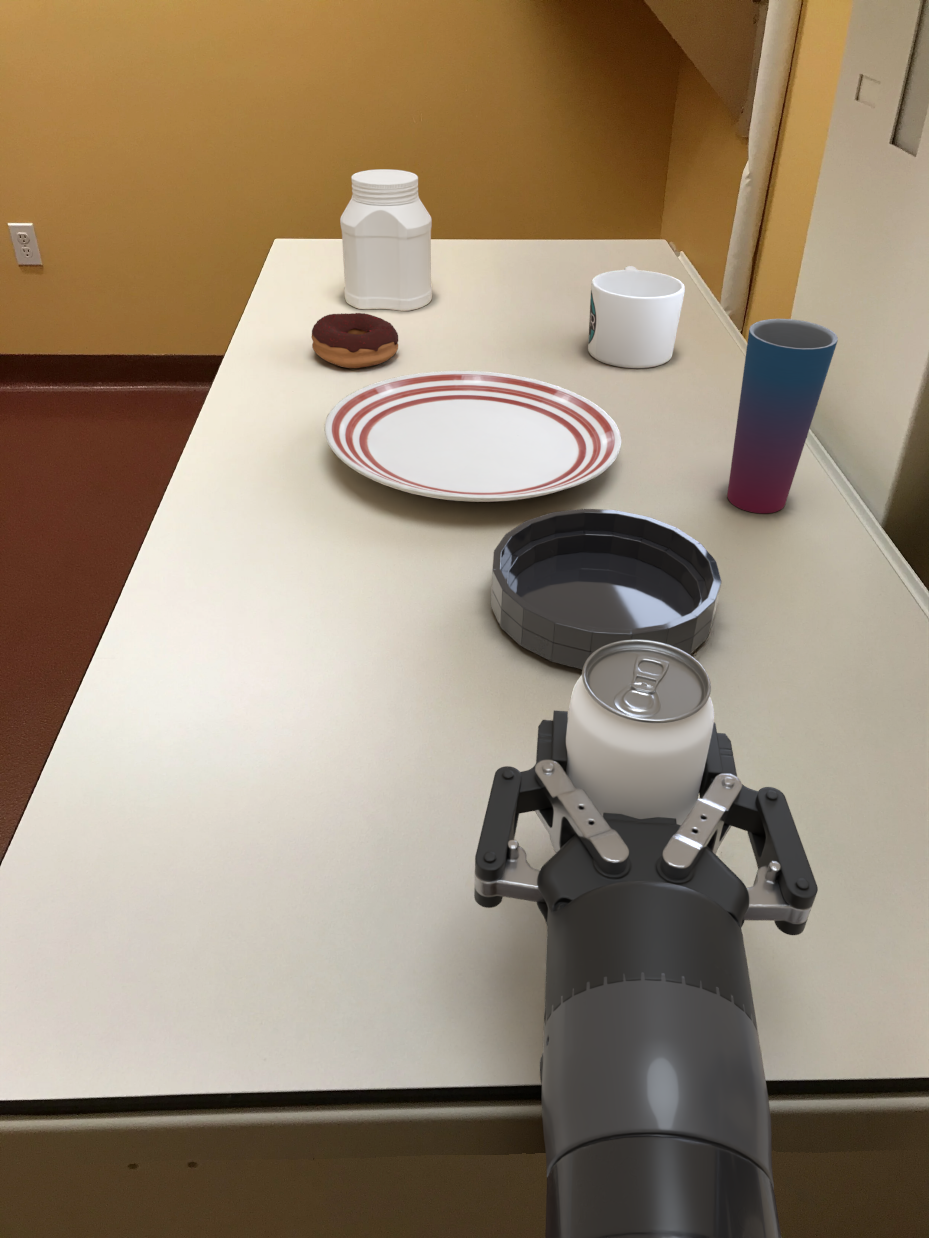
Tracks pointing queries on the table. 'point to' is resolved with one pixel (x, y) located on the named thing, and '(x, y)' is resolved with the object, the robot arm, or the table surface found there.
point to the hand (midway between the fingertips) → (630, 729)
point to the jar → (386, 242)
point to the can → (640, 729)
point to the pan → (602, 584)
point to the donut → (354, 339)
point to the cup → (776, 409)
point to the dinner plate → (472, 435)
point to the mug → (634, 317)
